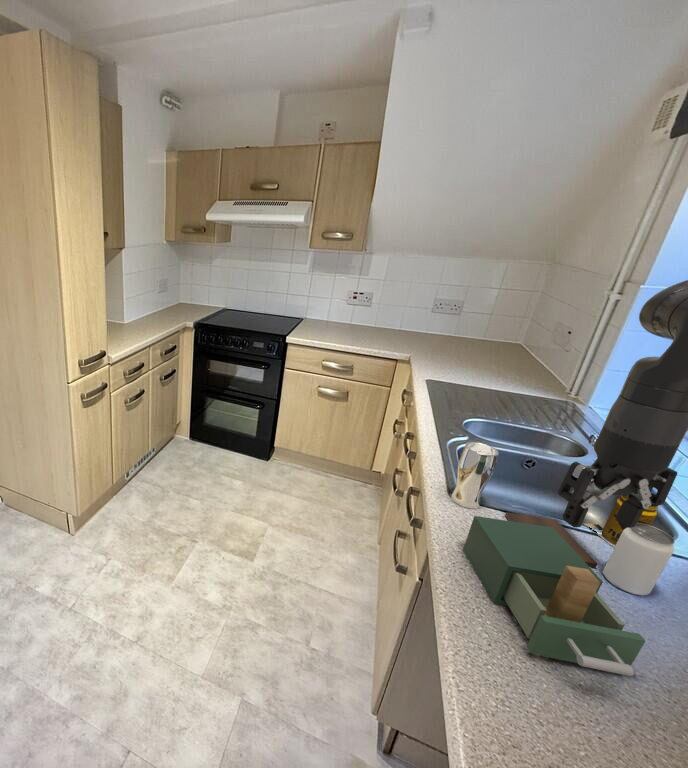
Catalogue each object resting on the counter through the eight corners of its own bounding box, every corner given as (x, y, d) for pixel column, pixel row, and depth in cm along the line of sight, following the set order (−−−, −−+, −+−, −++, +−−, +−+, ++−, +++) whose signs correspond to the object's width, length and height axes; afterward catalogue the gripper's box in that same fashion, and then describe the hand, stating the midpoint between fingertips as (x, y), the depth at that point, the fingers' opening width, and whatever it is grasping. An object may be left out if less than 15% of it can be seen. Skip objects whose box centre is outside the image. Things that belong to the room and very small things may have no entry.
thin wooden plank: (553, 523, 96) (555, 519, 95) (595, 568, 83) (598, 563, 82) (504, 516, 98) (506, 511, 97) (538, 558, 85) (540, 554, 85)
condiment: (617, 550, 88) (641, 503, 84) (583, 524, 96) (603, 480, 91) (653, 552, 87) (679, 505, 83) (615, 525, 95) (637, 481, 91)
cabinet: (583, 620, 72) (603, 581, 68) (493, 603, 74) (508, 565, 71) (538, 562, 84) (553, 527, 81) (462, 549, 87) (474, 515, 84)
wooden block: (533, 610, 71) (555, 559, 67) (564, 616, 70) (589, 564, 66) (550, 636, 66) (576, 583, 62) (584, 643, 65) (612, 589, 61)
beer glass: (445, 500, 103) (461, 448, 98) (452, 489, 107) (468, 438, 102) (478, 514, 98) (496, 459, 93) (484, 501, 103) (502, 449, 98)
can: (597, 565, 84) (621, 516, 79) (641, 578, 81) (668, 529, 76) (608, 587, 78) (634, 536, 74) (655, 602, 75) (685, 550, 71)
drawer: (648, 701, 58) (670, 668, 56) (545, 679, 61) (562, 646, 58) (572, 604, 73) (586, 574, 71) (492, 589, 76) (503, 560, 74)
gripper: (620, 443, 55) (575, 541, 60) (723, 444, 55) (668, 541, 61) (568, 419, 62) (532, 508, 67) (659, 420, 62) (616, 508, 68)
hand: (597, 524), depth 64 cm, fingers open, 8 cm apart
